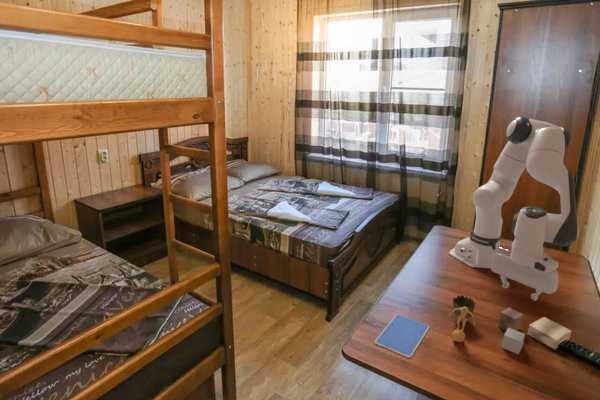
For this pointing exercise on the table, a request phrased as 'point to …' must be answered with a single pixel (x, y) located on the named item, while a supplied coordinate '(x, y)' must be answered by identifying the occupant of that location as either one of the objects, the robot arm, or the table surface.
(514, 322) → the walnut block
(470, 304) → the cup
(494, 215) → the robot arm
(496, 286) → the table surface
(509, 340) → the grey painted cube
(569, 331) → the beech pedestal block
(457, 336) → the figurine
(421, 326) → the tablet computer
